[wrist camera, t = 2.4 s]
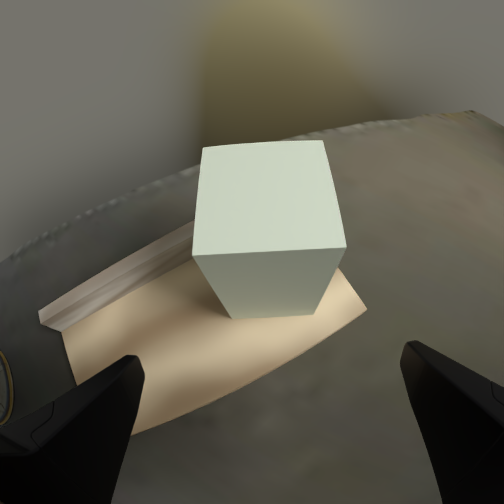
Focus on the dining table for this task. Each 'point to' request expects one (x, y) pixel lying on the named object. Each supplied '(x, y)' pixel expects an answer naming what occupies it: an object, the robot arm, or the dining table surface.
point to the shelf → (182, 329)
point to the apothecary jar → (5, 390)
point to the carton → (267, 227)
